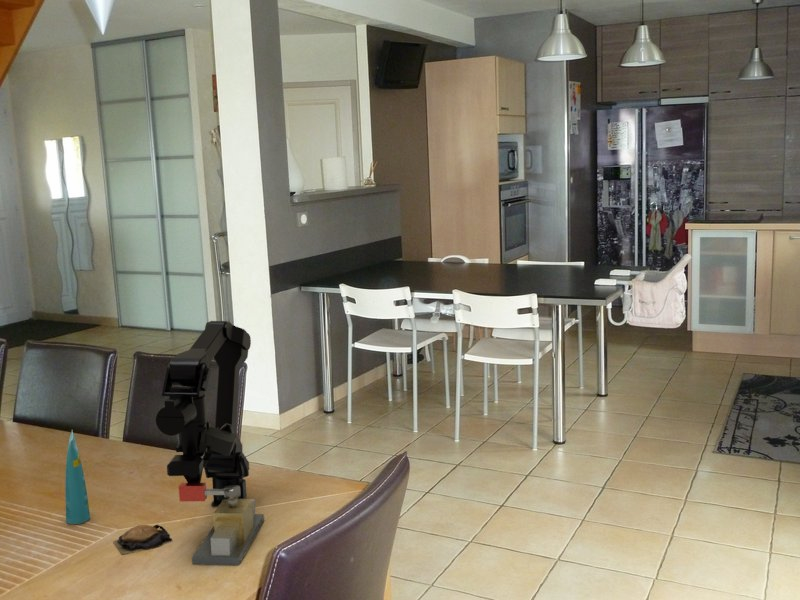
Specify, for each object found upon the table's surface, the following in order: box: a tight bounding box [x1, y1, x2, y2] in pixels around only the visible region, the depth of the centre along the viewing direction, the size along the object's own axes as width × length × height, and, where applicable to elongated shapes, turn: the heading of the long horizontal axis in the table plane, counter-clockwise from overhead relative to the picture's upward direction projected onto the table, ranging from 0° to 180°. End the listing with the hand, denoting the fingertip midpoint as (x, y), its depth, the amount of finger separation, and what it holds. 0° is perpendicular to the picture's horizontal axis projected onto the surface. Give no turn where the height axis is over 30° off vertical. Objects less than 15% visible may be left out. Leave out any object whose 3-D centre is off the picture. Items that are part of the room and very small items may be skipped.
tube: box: [64, 429, 91, 525], centre depth 176 cm, size 7×5×19 cm, turn 26°
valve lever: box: [178, 482, 241, 502], centre depth 164 cm, size 12×3×3 cm, turn 87°
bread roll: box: [112, 524, 173, 556], centre depth 166 cm, size 11×8×4 cm
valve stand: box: [191, 498, 265, 566], centre depth 165 cm, size 9×20×9 cm, turn 175°
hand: (196, 492), depth 167 cm, fingers closed
